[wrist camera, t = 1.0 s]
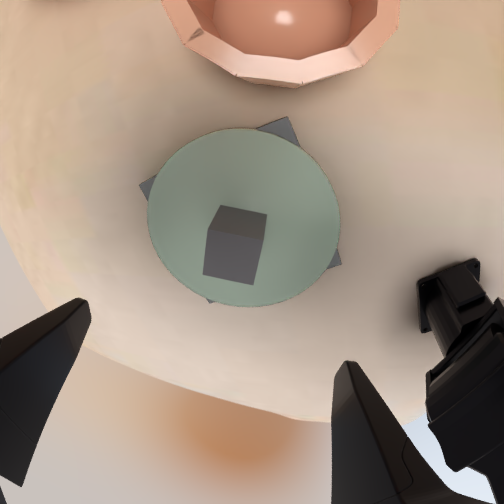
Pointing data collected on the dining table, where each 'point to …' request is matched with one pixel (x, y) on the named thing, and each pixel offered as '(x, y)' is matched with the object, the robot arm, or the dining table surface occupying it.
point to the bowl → (284, 35)
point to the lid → (243, 217)
